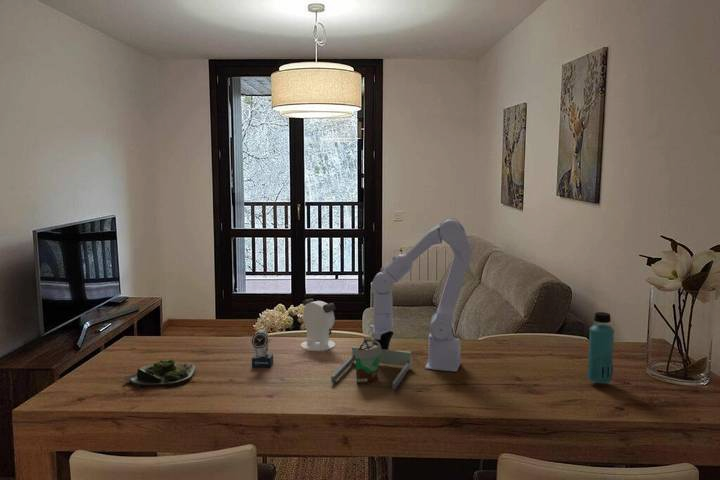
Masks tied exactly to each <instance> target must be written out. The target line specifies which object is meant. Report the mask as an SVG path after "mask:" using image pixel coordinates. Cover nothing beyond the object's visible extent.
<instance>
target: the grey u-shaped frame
mask: <svg viewBox="0 0 720 480" xmlns="http://www.w3.org/2000/svg"><path fill="white" fill-rule="evenodd" d="M359 348H360V346H354V345H353V346H352V347H351V356H350V357H349V358H348V359H347V360H345V362H344V363H343V364H342V365H341V366H340V367H339V368H338V369H337V370H336V371H335V372H334V373H333V374H332V375H331V376H330V378H331V381H330V382H331V383H332V384H335V385H336V383H337V380H338V379H339V378H340V377H341V376H342V375H343V373H345V371H346V370H347V369H348V368H349V367H350V366H351V365H354V364H355V362H356V358H355V354H356V350H359ZM381 350H382V352H381V354H379V364H384V365H392V366H393V365H396V366H403V367H402V369H401V370H400V371H399V373H398V374H397V376H396V377H395V379H393V381H392V384H391V385H392V386H391V388H392V390H393V391H397V389H398V388H397V387H398V386H399V384H400V382H402V379H404V376H405V375H406V374H407V372H408V371H410V370H411V369H410V368H411V366H412V351H408V350H397V349H388V350H387V349H381Z"/></svg>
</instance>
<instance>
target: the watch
mask: <svg viewBox="0 0 720 480" xmlns="http://www.w3.org/2000/svg"><path fill="white" fill-rule="evenodd" d="M268 332H269V331H268V329H257V331H256V332H255V333H254V335H253V336H252V338H251V344H252V347H253V351H254V354H253V355H252V357H251V368H252V369H271V368H272V367H273V364H274V353H268V351H269V343H271V340H270V339H269V333H268Z"/></svg>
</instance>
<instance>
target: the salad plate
mask: <svg viewBox="0 0 720 480" xmlns="http://www.w3.org/2000/svg"><path fill="white" fill-rule="evenodd" d="M195 371H196V365H195V364H192V363H188V362H186V363H185V362H182V363H176V361H175V360H173V359H171V358H170V359H168V358H165V359H164V360H162V359H161V360H159V361H156V362H154V363H153V364H152V363H151V364H148V365H145V366H141V367H140V368H138V369H137V371H136V373H134V374H131V375H129V376H126V377H124V379H123V380H124V381H126V382H129V383H131V384H133V385H134V386H135V385H136V386H135V387H137V386H139V387H138V388H142V387H166V388H174V387H178V386H181V385H183V384H186V383H187V382H188V381H190V380H192V378H193V375H194V374H195ZM173 386H174V387H173Z"/></svg>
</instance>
